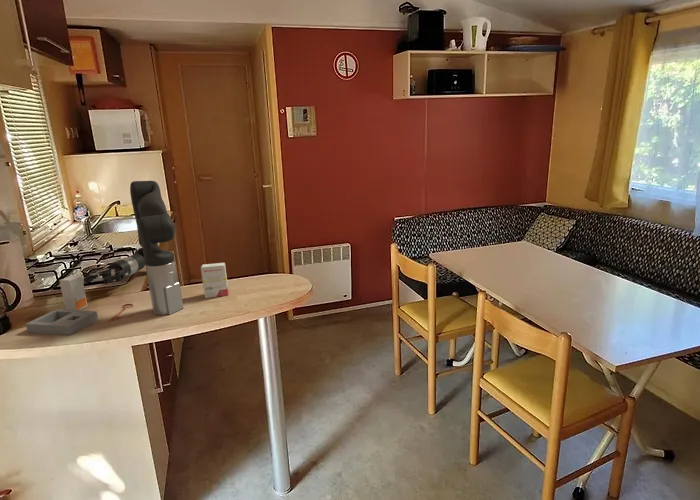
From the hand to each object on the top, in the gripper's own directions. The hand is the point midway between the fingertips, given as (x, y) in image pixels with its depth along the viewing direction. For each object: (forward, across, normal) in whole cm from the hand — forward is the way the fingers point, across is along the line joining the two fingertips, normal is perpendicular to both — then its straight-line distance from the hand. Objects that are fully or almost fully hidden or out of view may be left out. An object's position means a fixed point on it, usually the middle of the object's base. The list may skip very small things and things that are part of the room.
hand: (94, 281), depth 173 cm
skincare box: (+10, 0, +7) cm, 12 cm away
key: (+11, +19, +8) cm, 24 cm away
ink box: (-9, +44, +7) cm, 46 cm away
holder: (+23, +7, +7) cm, 25 cm away
